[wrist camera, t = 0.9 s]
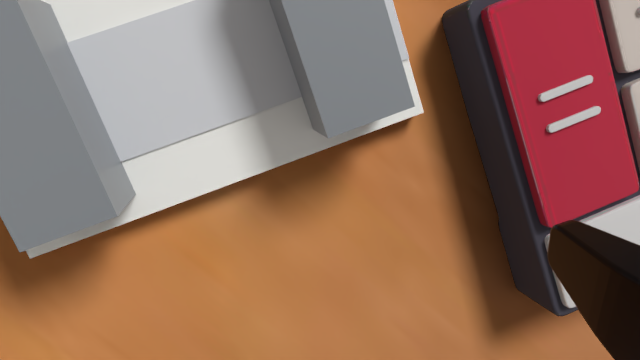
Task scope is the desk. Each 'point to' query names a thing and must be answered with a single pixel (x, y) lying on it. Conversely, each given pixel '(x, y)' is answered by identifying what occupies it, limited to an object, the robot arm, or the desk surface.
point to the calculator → (552, 121)
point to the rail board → (179, 101)
